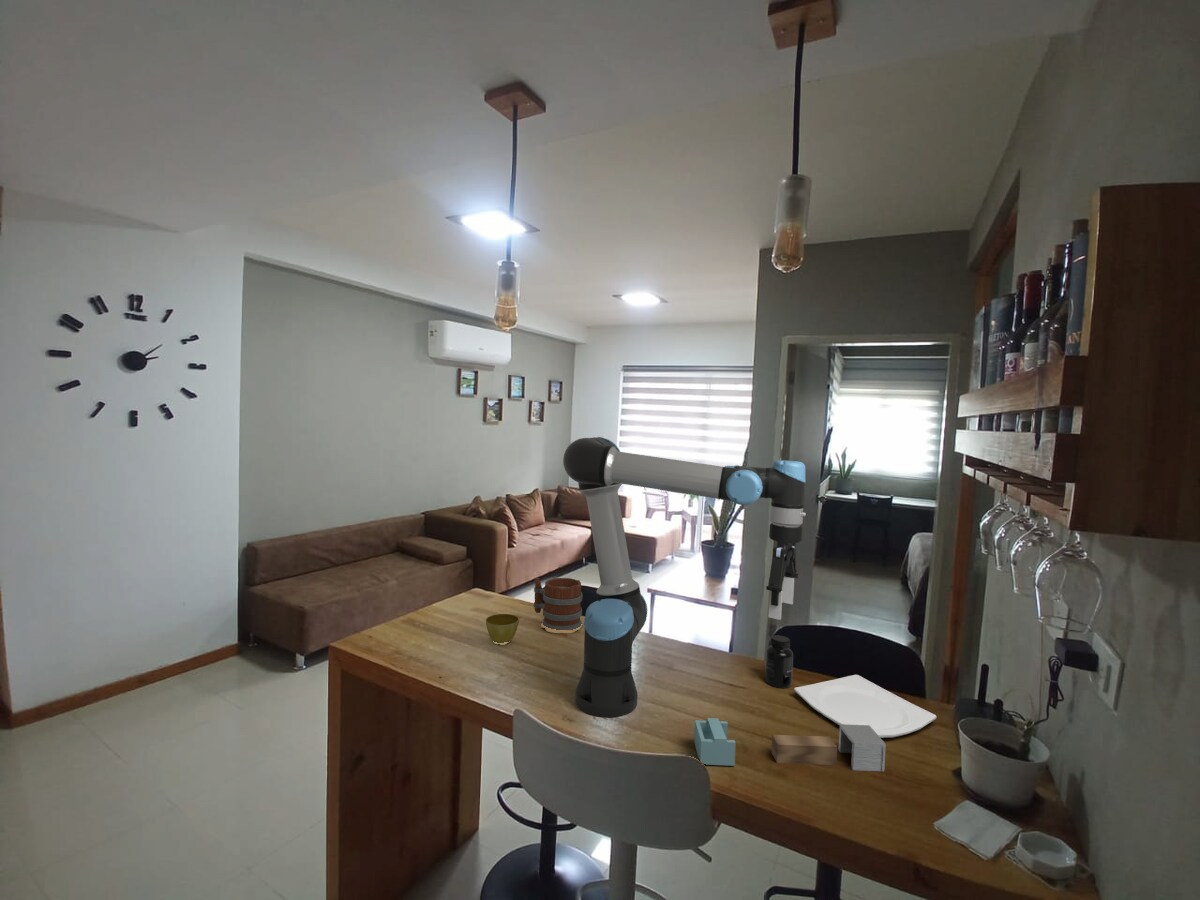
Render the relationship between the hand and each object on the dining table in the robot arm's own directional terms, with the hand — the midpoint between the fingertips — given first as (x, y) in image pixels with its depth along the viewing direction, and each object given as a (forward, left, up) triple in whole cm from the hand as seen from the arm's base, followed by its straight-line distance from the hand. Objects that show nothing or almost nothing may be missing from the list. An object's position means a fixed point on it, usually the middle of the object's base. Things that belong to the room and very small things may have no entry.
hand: (781, 610), depth 130 cm
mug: (-59, +47, -24) cm, 79 cm away
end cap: (+10, -22, -23) cm, 33 cm away
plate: (+20, -2, -24) cm, 31 cm away
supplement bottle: (+4, +11, -24) cm, 26 cm away
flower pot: (-74, +31, -24) cm, 84 cm away
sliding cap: (-20, -22, -23) cm, 37 cm away
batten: (-2, -22, -24) cm, 32 cm away
